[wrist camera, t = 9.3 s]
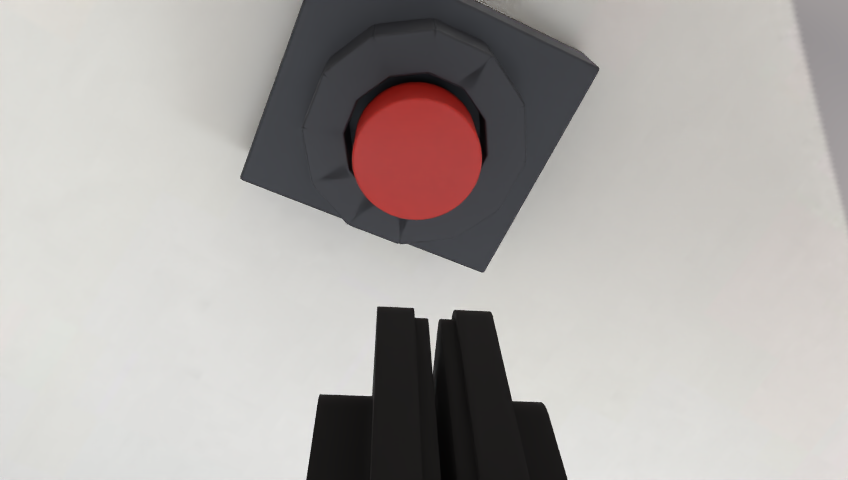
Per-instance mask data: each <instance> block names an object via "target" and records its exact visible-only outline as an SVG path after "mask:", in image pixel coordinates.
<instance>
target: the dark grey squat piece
mask: <svg viewBox="0 0 848 480" xmlns="http://www.w3.org/2000/svg"><path fill="white" fill-rule="evenodd" d="M598 71H599V67H598V66H597V65H596V64H594V63H593V62H592V61H591V60H590V59H589V58H588V57H587V56H586V55H585V54H583V53H582V52H580V51H578V50H576V49H574V48H572V47H570V46H568V45H566V44H564V43H562V42H560V41H558V40H556V39H554V38H551V37H549V36H547V35H545V34H543V33H541V32H539V31H537V30H535V29H533V28H531V27H529V26H527V25H525V24H523V23H520V22H518V21H516V20H514V19H512V18H510V17H508V16H506V15H504V14H502V13H500V12H498V11H496V10H494V9H492V8H490V7H487V6H485V5H483V4H481V3H479V2H477V1H475V0H303V3H302V6H301V9H300V11H299V14H298V17H297V20H296V23H295V25H294V28H293V31H292V34H291V37H290V39H289V42H288V45H287V48H286V50H285V53H284V56H283V59H282V62H281V64H280V67H279V70H278V73H277V76H276V78H275V81H274V84H273V87H272V90H271V92H270V95H269V98H268V101H267V103H266V106H265V109H264V112H263V115H262V117H261V120H260V123H259V126H258V129H257V131H256V134H255V137H254V140H253V143H252V145H251V148H250V151H249V154H248V157H247V159H246V162H245V165H244V168H243V170H242V173H241V176H240V177H241V179H242V180H243V181H246V182H249V183H251V184H254V185H256V186H259V187H262V188H264V189H267V190H269V191H272V192H275V193H277V194H280V195H282V196H285V197H288V198H290V199H293V200H295V201H298V202H301V203H303V204H306V205H308V206H311V207H313V208H316V209H319V210H321V211H324V212H326V213H329V214H332V215H334V216H337V217H339V218H342V219H343V220H344V221H345V222H346V223H347V224H349V225H350V226H353V227H355V228H358V229H361V230H363V231H366V232H368V233H371V234H374V235H376V236H379V237H381V238H384V239H387V240H389V241H392V242H394V243H397V244H398V243H400V244H409V245H412V246H415V247H417V248H420V249H422V250H425V251H428V252H430V253H433V254H435V255H438V256H441V257H443V258H446V259H448V260H451V261H454V262H456V263H459V264H461V265H464V266H466V267H469V268H472V269H474V270H477V271H479V272H484V271H485V270H486V268H487V266H488V264H489V263H490V261H491V259H492V257H493V255H494V254H495V252H496V250H497V248H498V247H499V245H500V243H501V241H502V240H503V238H504V236H505V234H506V233H507V231H508V229H509V227H510V226H511V224H512V222H513V220H514V219H515V217H516V215H517V213H518V212H519V210H520V208H521V206H522V205H523V203H524V201H525V199H526V198H527V196H528V194H529V192H530V191H531V189H532V187H533V185H534V184H535V182H536V180H537V178H538V177H539V175H540V173H541V171H542V170H543V168H544V166H545V164H546V163H547V161H548V159H549V157H550V156H551V154H552V152H553V150H554V149H555V147H556V145H557V143H558V142H559V140H560V138H561V136H562V135H563V133H564V131H565V129H566V128H567V126H568V124H569V122H570V121H571V119H572V117H573V115H574V114H575V112H576V110H577V108H578V107H579V105H580V103H581V101H582V100H583V98H584V96H585V94H586V93H587V91H588V89H589V87H590V86H591V84H592V82H593V80H594V78H595V77H596V75H597V73H598ZM407 82H426V83H430V84H434V85H437V86H440V87H442V88H444V89H446V90H448V91H450V92H451V93H452V94H454V95H455V96H456V97H457V98H458V99H459V100H460V101H461V102H462V103H463V104H464V105H465V107H466V108H467V110H468V111H469V113H470V115H471V117H472V120H473V122H474V125H475V128H476V132H477V135H478V138H479V141H480V145H481V151H482V166H481V171H480V175H479V178H478V180H477V183H476V185H475V187H474V188H473V190H472V192H471V193H470V194H469V195H468V197H467V198H466V199H465V200H464V201H463V202H462V203H461V204H460V205H458V206H457V207H456V208H454V209H453V210H451V211H449V212H447V213H445V214H443V215H441V216H438V217H434V218H430V219H424V220H409V219H403V218H399V217H395V216H392V215H390V214H388V213H386V212H384V211H382V210H381V209H379V208H377V207H376V206H375V205H374V204H372V203H371V202H370V201H369V200H368V199H367V198H366V196H365V195H364V194H363V192H362V191H361V189H360V188H359V186H358V184H357V181H356V179H355V176H354V172H353V167H352V151H353V145H354V139H355V133H356V128H357V124H358V121H359V118H360V116H361V114H362V112H363V111H364V109H365V108H366V106H367V105H368V104H369V103H370V102H371V100H372V99H373V98H375V97H376V96H377V95H378V94H379V93H381V92H383V91H384V90H386V89H388V88H390V87H392V86H395V85H398V84H401V83H407Z"/></svg>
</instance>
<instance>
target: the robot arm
mask: <svg viewBox="0 0 848 480" xmlns="http://www.w3.org/2000/svg"><path fill="white" fill-rule="evenodd" d="M306 480H567V476H566V473H565V469H564V466H563V462H562V459H561V456H560V452H559V449H558V445H557V442H556V438H555V435H554V432H553V428H552V425H551V421H550V418H549V414H548V412H547V409H546V407H545V405H544V404H543V403H542V402H517V401H512V398H511V394H510V390H509V385H508V381H507V377H506V372H505V368H504V363H503V359H502V355H501V350H500V346H499V342H498V337H497V333H496V329H495V324H494V320H493V316H492V313H491V312H487V311H465V310H454V311H453V315H452V320H449V319H440V320H439V323H438V331H437V340H436V349H435V358H434V368H433V373H432V361H431V348H430V335H429V323H428V319H426V318H415V314H414V308H399V307H377V322H376V339H375V357H374V374H373V392H372V396H349V395H321V394H320V395H319V399H318V405H317V411H316V418H315V425H314V432H313V438H312V445H311V452H310V459H309V466H308V473H307V479H306Z"/></svg>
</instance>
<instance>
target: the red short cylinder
mask: <svg viewBox="0 0 848 480" xmlns="http://www.w3.org/2000/svg"><path fill="white" fill-rule="evenodd" d="M481 166H482V151H481V145H480V141H479V138H478V135H477V132H476V128H475V125H474V122H473V120H472V117H471V115H470V113H469V111H468V110H467V108H466V107H465V105H464V104H463V103H462V102H461V101H460V100H459V99H458V98H457V97H456V96H455V95H454V94H452V93H451V92H450V91H448V90H446V89H444V88H442V87H440V86H437V85H434V84H430V83H426V82H407V83H401V84H398V85H395V86H392V87H390V88H388V89H386V90H384V91H383V92H381V93H379V94H378V95H377V96H376V97H375V98H373V99H372V100H371V102H370V103H369V104H368V105H367V106H366V108H365V109H364V111H363V112H362V114H361V116H360V118H359V121H358V124H357V128H356V133H355V139H354V145H353V151H352V167H353V172H354V176H355V179H356V181H357V184H358V186H359V188H360V189H361V191H362V192H363V194H364V195H365V196H366V198H367V199H368V200H369V201H370V202H371V203H372V204H374V205H375V206H376V207H377V208H379V209H381V210H382V211H384V212H386V213H388V214H390V215H392V216H395V217H399V218H403V219H409V220H424V219H430V218H434V217H438V216H441V215H443V214H445V213H447V212H449V211H451V210H453V209H454V208H456V207H457V206H458V205H460V204H461V203H462V202H463V201H464V200H465V199H466V198H467V197H468V195H469V194H470V193H471V192H472V190H473V188H474V187H475V185H476V183H477V180H478V178H479V175H480V171H481Z"/></svg>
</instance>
